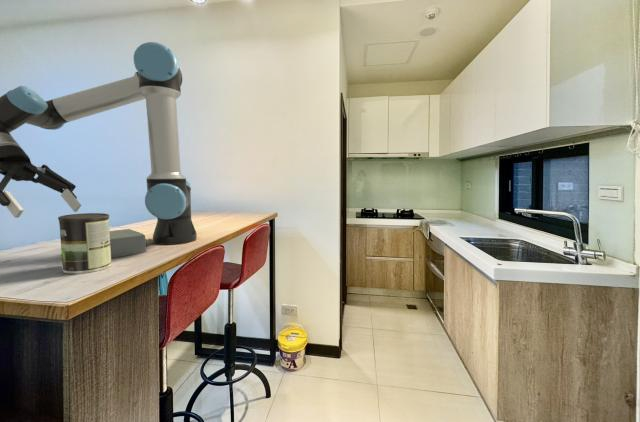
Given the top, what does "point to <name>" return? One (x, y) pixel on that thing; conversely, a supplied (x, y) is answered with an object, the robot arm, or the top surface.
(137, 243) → the base block
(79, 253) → the coffee can
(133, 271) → the top surface
